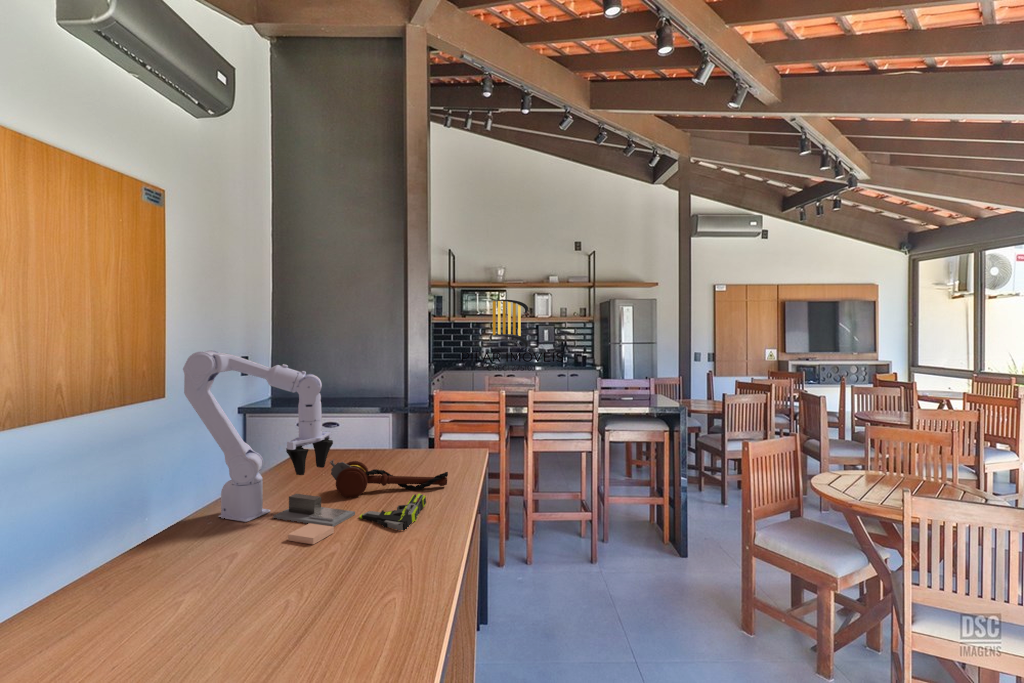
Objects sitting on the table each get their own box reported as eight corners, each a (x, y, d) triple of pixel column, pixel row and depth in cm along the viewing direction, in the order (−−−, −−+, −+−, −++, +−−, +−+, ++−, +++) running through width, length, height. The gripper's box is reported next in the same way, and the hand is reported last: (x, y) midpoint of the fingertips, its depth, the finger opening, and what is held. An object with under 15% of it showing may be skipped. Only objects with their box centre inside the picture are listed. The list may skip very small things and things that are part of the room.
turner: (283, 514, 128) (283, 498, 128) (300, 506, 134) (300, 491, 133) (333, 521, 123) (333, 505, 123) (348, 513, 129) (348, 497, 129)
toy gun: (373, 492, 139) (426, 489, 138) (375, 506, 139) (428, 504, 139) (347, 522, 120) (408, 519, 119) (348, 539, 120) (410, 536, 119)
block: (287, 534, 113) (313, 538, 111) (309, 523, 120) (333, 526, 118) (287, 541, 113) (313, 545, 111) (309, 529, 120) (333, 533, 118)
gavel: (444, 490, 159) (447, 500, 149) (330, 488, 151) (325, 498, 141) (447, 459, 159) (450, 466, 149) (333, 455, 151) (328, 463, 141)
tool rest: (273, 518, 127) (273, 515, 127) (298, 506, 136) (298, 503, 136) (332, 527, 121) (332, 523, 121) (355, 514, 130) (355, 511, 130)
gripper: (302, 425, 125) (302, 479, 125) (340, 416, 139) (340, 465, 139) (280, 424, 127) (280, 477, 128) (319, 415, 141) (320, 463, 141)
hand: (310, 470), depth 133 cm, fingers open, 7 cm apart
